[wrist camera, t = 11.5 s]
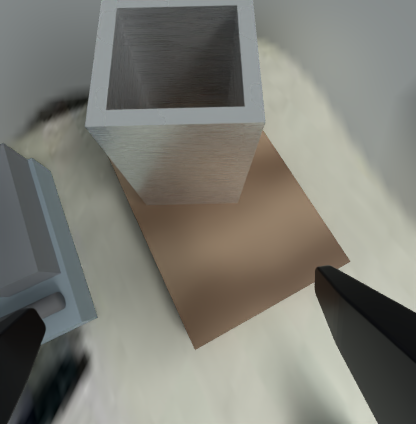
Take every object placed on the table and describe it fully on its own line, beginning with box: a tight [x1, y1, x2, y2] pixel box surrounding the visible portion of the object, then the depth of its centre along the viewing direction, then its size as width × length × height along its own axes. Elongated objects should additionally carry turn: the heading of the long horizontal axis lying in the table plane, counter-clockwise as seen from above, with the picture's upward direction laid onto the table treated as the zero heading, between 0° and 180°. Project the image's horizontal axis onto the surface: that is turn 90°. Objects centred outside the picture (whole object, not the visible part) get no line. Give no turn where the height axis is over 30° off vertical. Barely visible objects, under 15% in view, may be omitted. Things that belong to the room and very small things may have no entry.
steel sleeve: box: [85, 0, 265, 205], centre depth 12 cm, size 6×6×8 cm
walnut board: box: [109, 131, 350, 350], centre depth 17 cm, size 14×10×2 cm
